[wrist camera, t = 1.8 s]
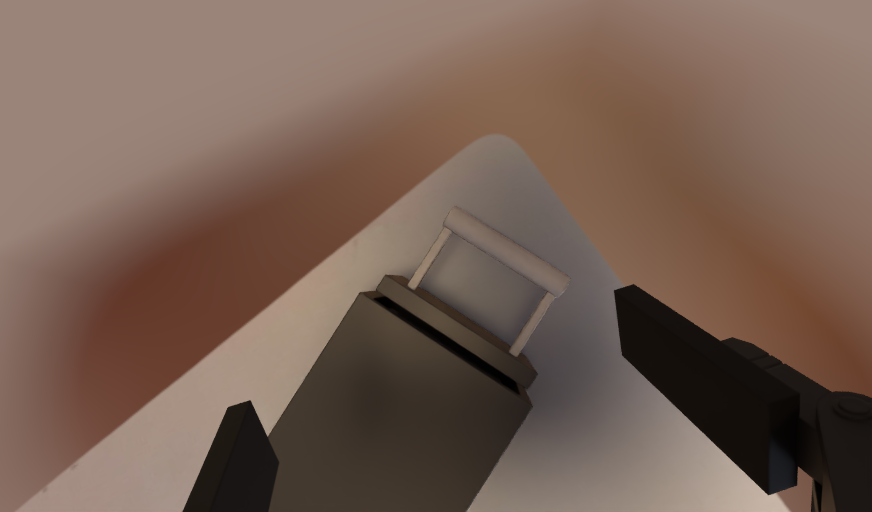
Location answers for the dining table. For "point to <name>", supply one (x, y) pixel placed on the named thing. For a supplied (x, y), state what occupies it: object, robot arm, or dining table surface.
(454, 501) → the grey drawer box
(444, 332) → the open sliding drawer
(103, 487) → the dining table surface
